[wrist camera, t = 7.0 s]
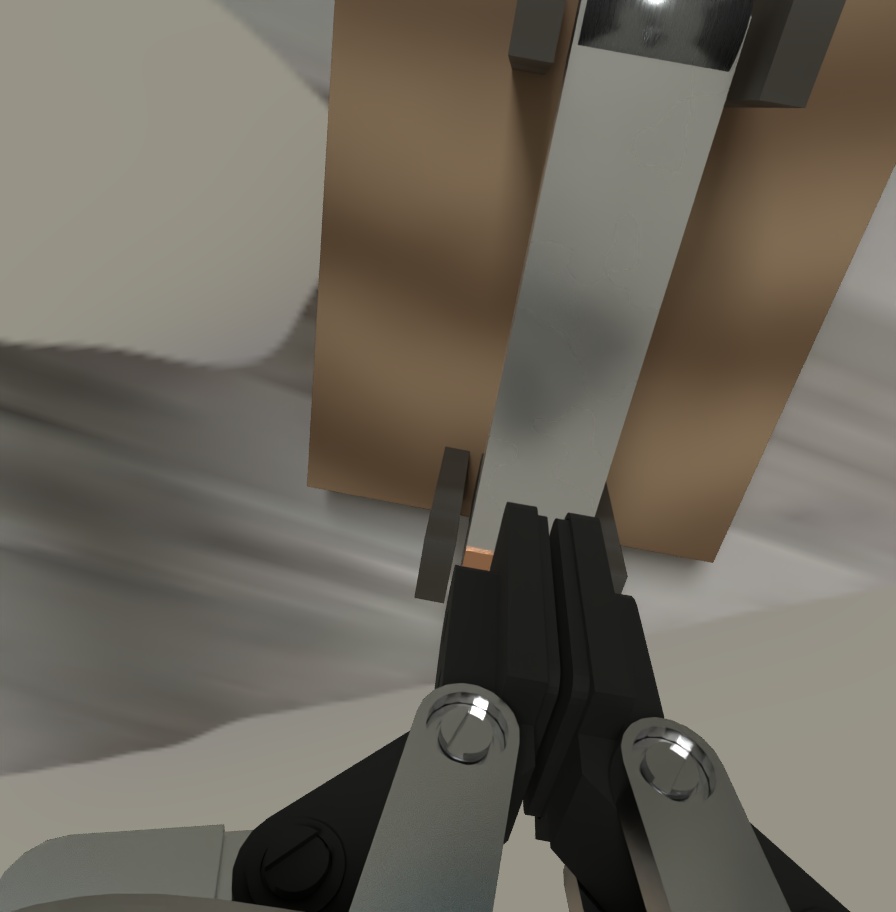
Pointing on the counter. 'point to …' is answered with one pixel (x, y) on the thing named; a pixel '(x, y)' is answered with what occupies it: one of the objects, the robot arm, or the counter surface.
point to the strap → (602, 247)
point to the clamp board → (506, 239)
